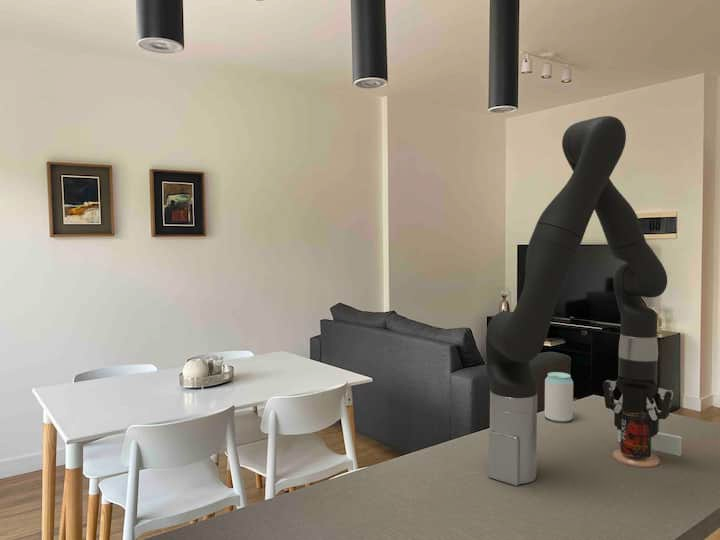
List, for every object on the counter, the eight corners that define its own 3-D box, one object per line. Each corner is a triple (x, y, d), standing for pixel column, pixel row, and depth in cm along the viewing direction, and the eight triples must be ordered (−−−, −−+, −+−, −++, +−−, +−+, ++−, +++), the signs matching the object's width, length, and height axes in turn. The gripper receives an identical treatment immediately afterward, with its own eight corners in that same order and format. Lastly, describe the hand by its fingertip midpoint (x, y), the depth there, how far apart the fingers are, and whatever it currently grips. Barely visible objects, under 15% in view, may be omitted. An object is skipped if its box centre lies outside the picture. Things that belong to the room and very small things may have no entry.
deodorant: (614, 450, 121) (615, 383, 120) (633, 445, 123) (635, 380, 122) (637, 459, 116) (639, 389, 115) (657, 455, 118) (659, 386, 117)
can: (573, 424, 142) (573, 378, 141) (544, 421, 144) (545, 376, 143) (572, 416, 148) (572, 372, 148) (544, 413, 151) (545, 370, 150)
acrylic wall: (680, 455, 121) (680, 438, 121) (617, 441, 129) (618, 425, 129) (681, 454, 122) (681, 436, 121) (618, 440, 130) (619, 424, 130)
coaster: (653, 471, 113) (653, 468, 113) (607, 460, 119) (607, 457, 119) (663, 458, 120) (663, 455, 120) (620, 447, 126) (620, 445, 126)
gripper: (597, 354, 120) (596, 429, 121) (671, 363, 111) (669, 445, 112) (608, 348, 126) (606, 421, 127) (679, 357, 116) (677, 435, 117)
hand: (636, 432), depth 119 cm, fingers closed on deodorant, 6 cm apart
